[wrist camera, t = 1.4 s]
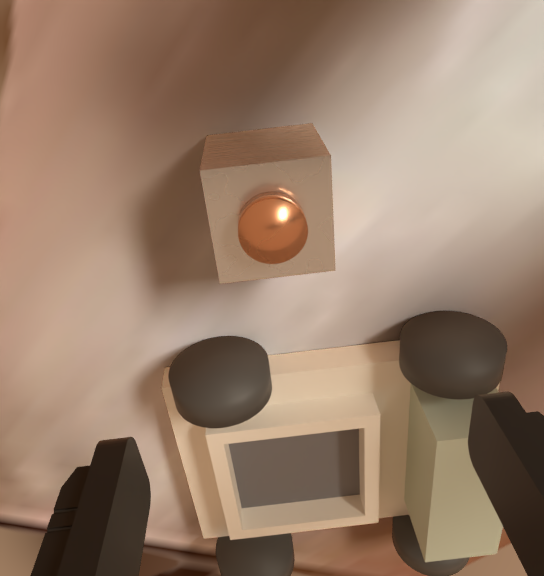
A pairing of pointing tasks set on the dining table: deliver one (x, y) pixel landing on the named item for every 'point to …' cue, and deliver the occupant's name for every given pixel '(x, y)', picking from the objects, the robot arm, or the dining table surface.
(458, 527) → the chassis
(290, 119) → the dining table surface
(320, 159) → the cube with copper knob
